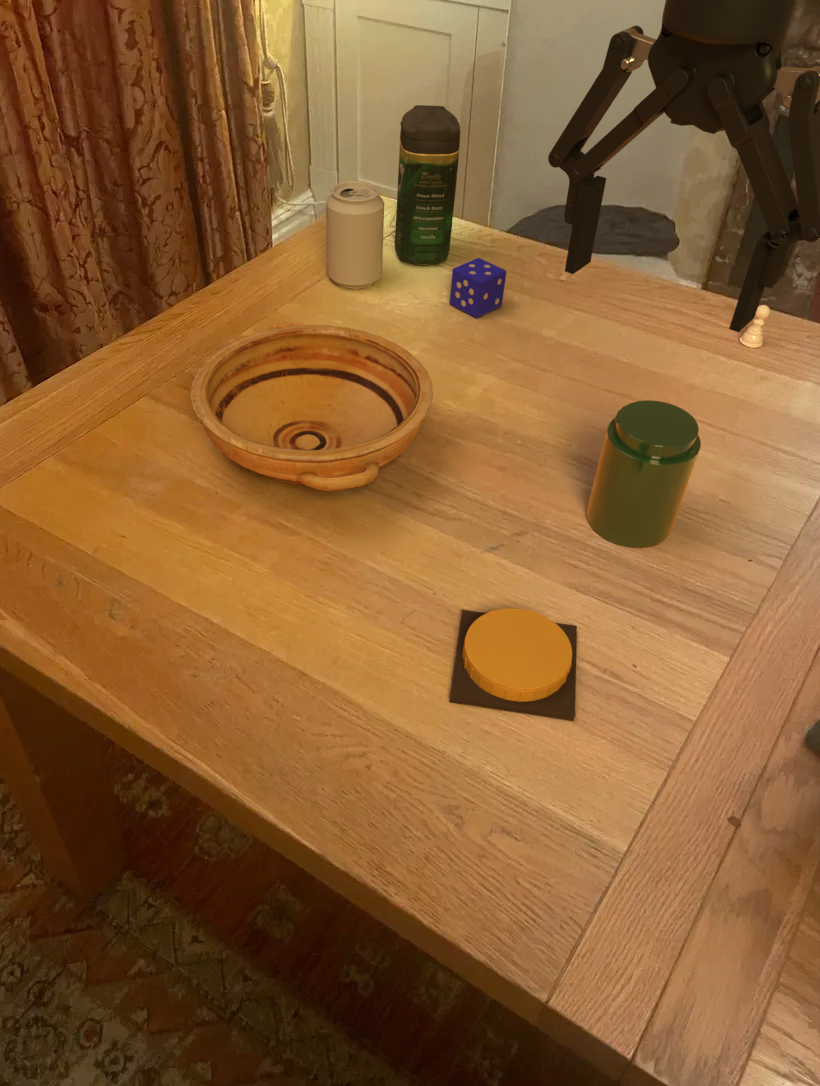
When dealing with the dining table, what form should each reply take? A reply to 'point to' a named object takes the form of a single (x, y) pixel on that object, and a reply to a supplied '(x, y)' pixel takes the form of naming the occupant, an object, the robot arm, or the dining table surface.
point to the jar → (643, 473)
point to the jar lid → (517, 654)
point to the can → (354, 234)
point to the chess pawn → (756, 329)
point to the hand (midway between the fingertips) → (655, 294)
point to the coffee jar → (426, 184)
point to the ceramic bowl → (312, 403)
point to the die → (477, 287)
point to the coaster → (472, 694)
